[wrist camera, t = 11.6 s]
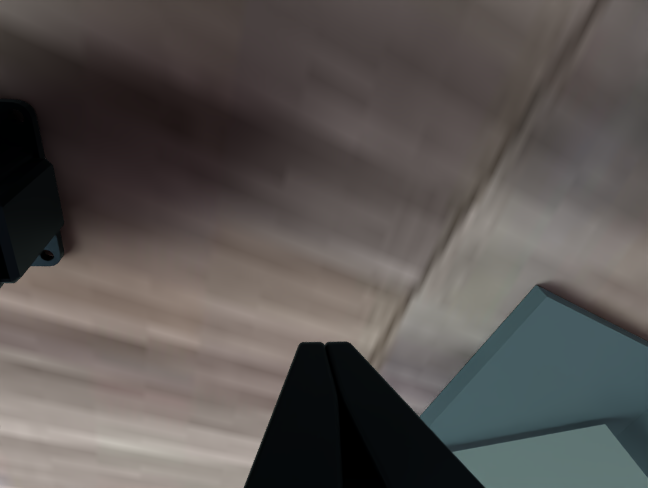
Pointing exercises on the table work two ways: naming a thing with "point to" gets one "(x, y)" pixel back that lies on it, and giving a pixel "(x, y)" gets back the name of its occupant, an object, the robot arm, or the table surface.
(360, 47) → the table surface
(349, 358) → the robot arm
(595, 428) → the door
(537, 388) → the housing
